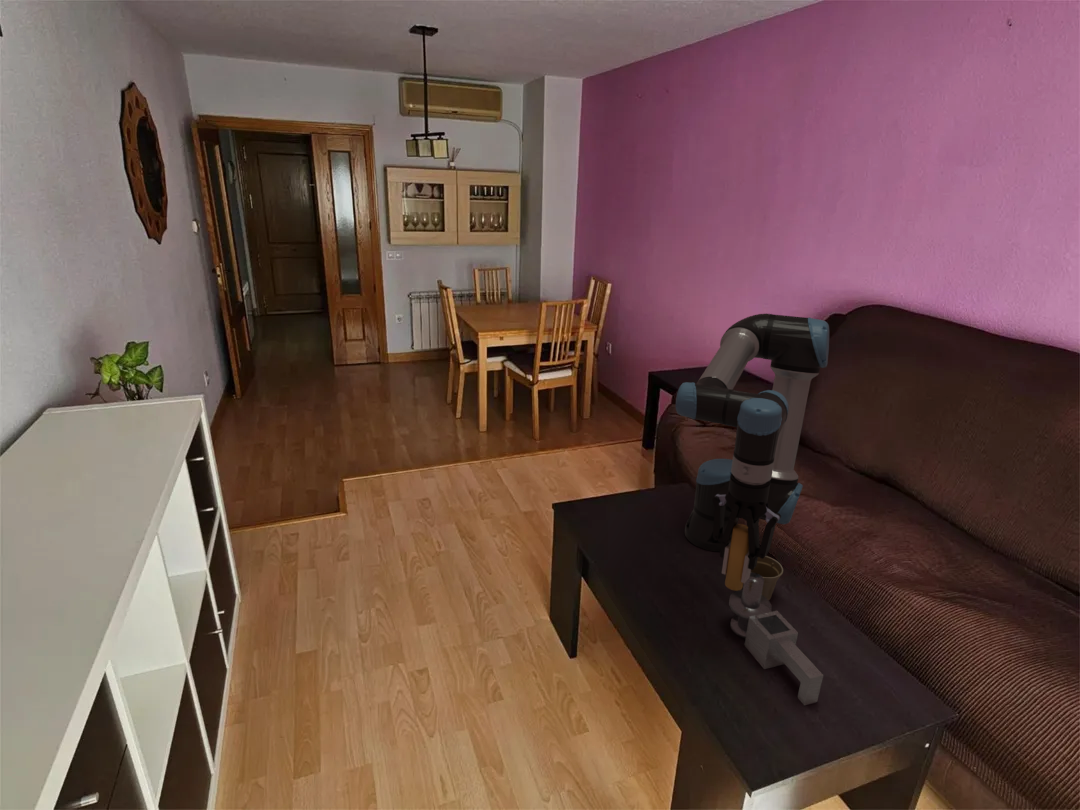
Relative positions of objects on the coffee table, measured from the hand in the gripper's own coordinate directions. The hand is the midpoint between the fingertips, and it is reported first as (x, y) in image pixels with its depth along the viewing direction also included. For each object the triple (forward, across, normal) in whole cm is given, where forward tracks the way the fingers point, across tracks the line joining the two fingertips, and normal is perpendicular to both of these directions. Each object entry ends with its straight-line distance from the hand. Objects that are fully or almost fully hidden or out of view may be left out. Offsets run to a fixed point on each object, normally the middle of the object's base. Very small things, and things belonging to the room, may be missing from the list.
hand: (735, 574), depth 123 cm
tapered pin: (+3, 0, 0) cm, 3 cm away
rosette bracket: (+19, +8, +3) cm, 21 cm away
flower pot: (+19, -1, +21) cm, 28 cm away
